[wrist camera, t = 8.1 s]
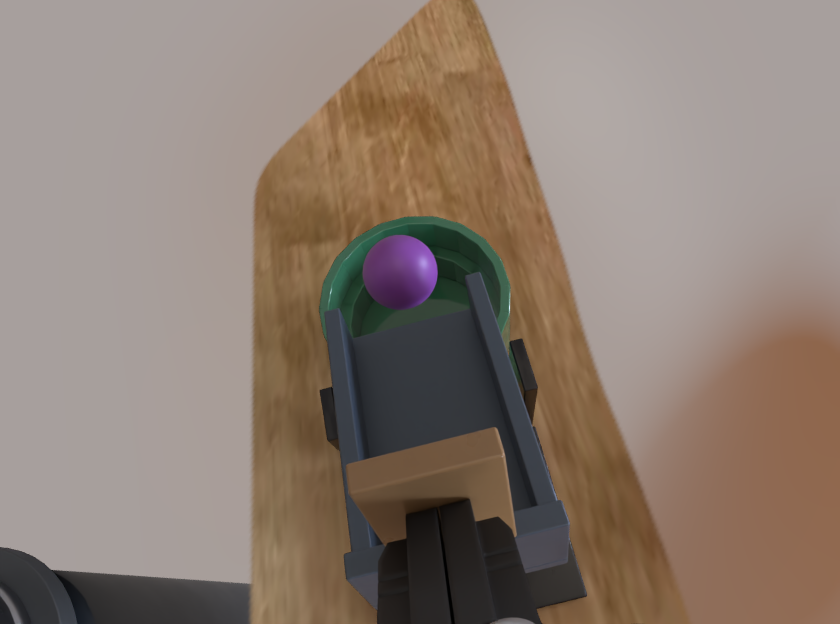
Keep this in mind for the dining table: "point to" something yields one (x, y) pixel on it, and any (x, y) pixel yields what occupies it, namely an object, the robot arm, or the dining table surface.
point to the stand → (563, 578)
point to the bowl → (455, 260)
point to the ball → (400, 272)
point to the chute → (437, 435)
